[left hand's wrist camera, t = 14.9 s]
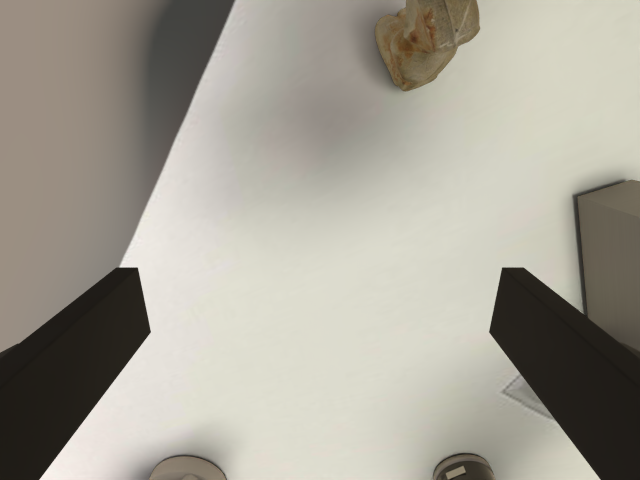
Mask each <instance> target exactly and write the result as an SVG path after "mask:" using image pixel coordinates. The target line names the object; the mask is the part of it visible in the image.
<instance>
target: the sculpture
mask: <svg viewBox="0 0 640 480" xmlns="http://www.w3.org/2000/svg"><path fill="white" fill-rule="evenodd" d="M479 30H480V26H479V10H478V5H477V1H476V0H406V8H403V9H401V10H400V11H399V12H398V14H397V17H394V16H391V15H386V16H384V17H382V18H381V19H380V20H379V21H378V22H377V24H376V27H375V37H376V42H377V45H378V48H379V51H380V53H381V55H382V58H383V60H384V62H385V64H386V66H387V68H388V70H389V72H390V74H391V77H392V79H393V82H394V83H395V85H396V86H399V87H400V88H401V89H402V90H403V91H409V90H412V89H415V88H418V87H420V86H423V85H425V84H427V83H429V82H431V81H433V80H434V79H435V78H436V77H437V75H438V74H439V73H440V72H441V71H442V70H443V69H444V67H445V66H446V65H447V64H448V63H449V61H450V60H451V59H452V58H453V56H454V55H455V53H456V51H457V48H458V46H459V45H462V44H464V43H466V42H468V41H470V40H471V39H473V38H474V37H475V36H476V35H477V33H478V32H479Z"/></svg>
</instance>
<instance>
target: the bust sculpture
mask: <svg viewBox="0 0 640 480" xmlns="http://www.w3.org/2000/svg"><path fill="white" fill-rule="evenodd" d="M149 480H226V478H225V476H224V474H223V473H222V472H221V471H220V470H219V469H218V468H217V467H216V466H215V465H213V464H211V463H210V462H208V461H205V460H203V459H199V458H195V457H187V456H181V457H174V458H170V459H167V460H165V461H163V462H161V463H160V464H158V465H157V466H156V467H155V469H154V470H153V472H152V474H151V476H150V478H149Z"/></svg>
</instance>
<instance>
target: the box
mask: <svg viewBox="0 0 640 480" xmlns="http://www.w3.org/2000/svg"><path fill="white" fill-rule="evenodd" d="M577 198H578V209H579V221H580V232H581V244H582V255H583V267H584V278H585V289H586V301H587V312H588V318H589V319H590V320H591V321H592V322H594V323H595V324H596V325H598V326H599V327H600V328H601V329H603V330H604V331H605V332H607V333H608V334H609V335H610V336H612V337H613V338H614V339H615V340H617V341H618V342H623V343H625V344H627V345H629V346H631V347H633V348H635V349H636V350H638V351H640V181H635V180H629V181H626V182H623V183H620V184H616V185H613V186H610V187H607V188H603V189H600V190H597V191H594V192H591V193H587V194H584V195H581V196H578V197H577Z"/></svg>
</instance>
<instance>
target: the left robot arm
mask: <svg viewBox="0 0 640 480" xmlns="http://www.w3.org/2000/svg"><path fill="white" fill-rule="evenodd" d="M150 333H151V331H150V326H149V321H148V316H147V311H146V306H145V301H144V296H143V291H142V286H141V281H140V276H139V271H138V268H115V269H114V270H113V271H112V272H110V273H109V274H108V275H106V276H105V277H104V278H103V279H101V280H100V281H99V282H98V283H96V284H95V285H94V286H92V287H91V288H90V289H88V290H87V291H86V292H85V293H83V294H82V295H81V296H80V297H78V298H77V299H76V300H75V301H73V302H72V303H71V304H69V305H68V306H67V307H65V308H64V309H63V310H62V311H60V312H59V313H58V314H57V315H55V316H54V317H53V318H51V319H50V320H49V321H48V322H46V323H45V324H44V325H42V326H41V327H40V328H39V329H37V330H36V331H35V332H34V333H32V334H31V335H30V336H28V337H27V338H26V339H25V340H23V341H22V342H21V343H19V344H16V345H14V346H12V347H10V348H8V349H6V350H5V351H3V352H1V353H0V480H39V479H40V478H41V477H42V475H43V474H44V473H45V471H46V470H47V469H48V467H49V466H50V465H51V463H52V462H53V461H54V459H55V458H56V457H57V455H58V454H59V453H60V452H61V450H62V449H63V448H64V446H65V445H66V444H67V442H68V441H69V440H70V438H71V437H72V436H73V434H74V433H75V432H76V430H77V429H78V428H79V426H80V425H81V424H82V422H83V421H84V420H85V418H86V417H87V416H88V415H89V413H90V412H91V411H92V409H93V408H94V407H95V405H96V404H97V403H98V401H99V400H100V399H101V397H102V396H103V395H104V393H105V392H106V391H107V389H108V388H109V387H110V385H111V384H112V383H113V381H114V380H115V379H116V378H117V376H118V375H119V374H120V372H121V371H122V370H123V368H124V367H125V366H126V364H127V363H128V362H129V360H130V359H131V358H132V356H133V355H134V354H135V352H136V351H137V350H138V348H139V347H140V346H141V344H142V343H143V342H144V341H145V339H146V338H147V337H148V335H149V334H150ZM489 333H490V334H491V335H492V337H493V338H494V339H495V341H496V342H497V343H498V344H499V346H500V347H501V348H502V350H503V351H504V352H505V354H506V355H507V356H508V358H509V359H510V360H511V362H512V363H513V364H514V366H515V367H516V368H517V370H518V371H519V372H520V374H521V375H522V376H523V378H524V379H525V380H526V381H527V383H528V384H529V385H530V387H531V388H532V389H533V391H534V392H535V393H536V395H537V396H538V397H539V399H540V400H541V401H542V403H543V404H544V405H545V407H546V408H547V409H548V411H549V412H550V413H551V415H552V416H553V417H554V418H555V420H556V421H557V422H558V424H559V425H560V426H561V428H562V429H563V430H564V432H565V433H566V434H567V436H568V437H569V438H570V440H571V441H572V442H573V444H574V445H575V446H576V448H577V449H578V450H579V452H580V453H581V454H582V455H583V457H584V458H585V459H586V461H587V462H588V463H589V465H590V466H591V467H592V469H593V470H594V471H595V473H596V474H597V475H598V477H599V478H600V479H601V480H640V351H638V350H636V349H635V348H633V347H631V346H629V345H627V344H625V343H623V342H618V341H617V340H615V339H614V338H613V337H612V336H610V335H609V334H608V333H607V332H605V331H604V330H603V329H601V328H600V327H599V326H598V325H596V324H595V323H594V322H592V321H591V320H590V319H589V318H587V317H586V316H585V315H583V314H582V313H581V312H580V311H578V310H577V309H576V308H575V307H573V306H572V305H571V304H569V303H568V302H567V301H566V300H564V299H563V298H562V297H560V296H559V295H558V294H557V293H555V292H554V291H553V290H552V289H550V288H549V287H548V286H546V285H545V284H544V283H543V282H541V281H540V280H539V279H537V278H536V277H535V276H534V275H532V274H531V273H530V272H528V271H527V270H526V269H525V268H502V271H501V276H500V281H499V286H498V291H497V296H496V301H495V306H494V311H493V316H492V321H491V326H490V331H489Z"/></svg>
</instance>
